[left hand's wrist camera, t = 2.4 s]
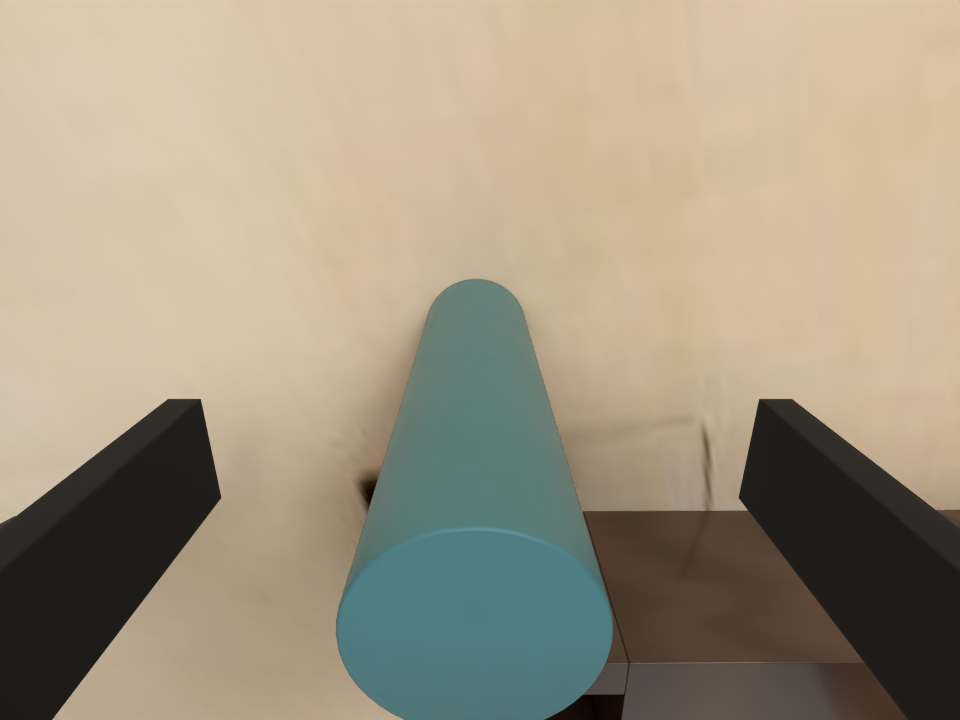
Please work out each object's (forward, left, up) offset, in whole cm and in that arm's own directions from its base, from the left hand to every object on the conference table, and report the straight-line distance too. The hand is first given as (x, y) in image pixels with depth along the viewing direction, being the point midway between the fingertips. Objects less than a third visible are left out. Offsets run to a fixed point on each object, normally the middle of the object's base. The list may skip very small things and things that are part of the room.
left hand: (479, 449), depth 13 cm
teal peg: (0, 0, -10) cm, 10 cm away
